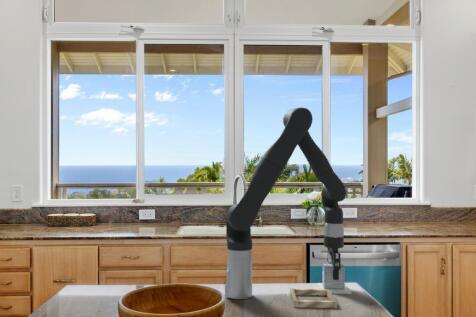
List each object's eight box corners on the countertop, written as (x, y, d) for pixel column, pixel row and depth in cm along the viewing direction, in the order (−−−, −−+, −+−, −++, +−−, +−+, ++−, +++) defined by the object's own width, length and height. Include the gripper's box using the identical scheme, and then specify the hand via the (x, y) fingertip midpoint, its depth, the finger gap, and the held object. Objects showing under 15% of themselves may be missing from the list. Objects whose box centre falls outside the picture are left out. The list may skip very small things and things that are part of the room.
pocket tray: (293, 307, 140) (293, 301, 140) (290, 294, 154) (290, 288, 154) (337, 308, 139) (337, 302, 139) (329, 294, 153) (329, 289, 153)
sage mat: (321, 293, 155) (321, 291, 155) (317, 285, 166) (317, 283, 166) (351, 294, 154) (351, 291, 154) (344, 285, 165) (344, 283, 165)
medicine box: (342, 285, 162) (342, 263, 162) (345, 289, 158) (345, 266, 158) (322, 285, 162) (322, 263, 163) (324, 288, 158) (324, 266, 158)
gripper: (321, 231, 168) (320, 271, 167) (327, 237, 153) (327, 281, 153) (339, 231, 167) (339, 272, 167) (347, 237, 153) (347, 282, 153)
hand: (333, 276), depth 160 cm, fingers open, 8 cm apart
